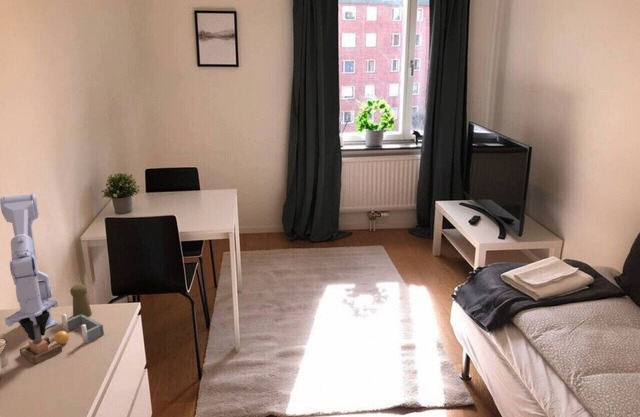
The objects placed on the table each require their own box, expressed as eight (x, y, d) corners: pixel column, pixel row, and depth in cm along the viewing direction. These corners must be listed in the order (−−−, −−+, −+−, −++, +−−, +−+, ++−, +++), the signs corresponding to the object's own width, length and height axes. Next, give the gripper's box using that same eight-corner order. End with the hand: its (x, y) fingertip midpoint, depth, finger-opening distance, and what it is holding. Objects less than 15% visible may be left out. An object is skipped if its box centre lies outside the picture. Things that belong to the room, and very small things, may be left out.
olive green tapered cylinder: (85, 320, 184) (80, 290, 180) (69, 318, 185) (64, 289, 181) (95, 311, 189) (91, 282, 186) (79, 309, 190) (75, 281, 187)
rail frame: (20, 355, 164) (19, 349, 164) (47, 342, 171) (46, 336, 170) (34, 364, 160) (33, 358, 159) (62, 351, 166) (61, 345, 166)
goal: (63, 331, 177) (60, 315, 175) (82, 322, 182) (79, 306, 180) (85, 344, 170) (82, 327, 168) (104, 334, 175) (102, 318, 173)
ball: (53, 343, 170) (51, 332, 169) (65, 338, 173) (63, 327, 172) (60, 348, 168) (58, 336, 166) (72, 342, 171) (70, 331, 170)
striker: (30, 352, 165) (25, 326, 162) (40, 347, 167) (35, 322, 164) (39, 358, 162) (34, 331, 159) (49, 353, 165) (44, 327, 162)
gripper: (10, 309, 151) (19, 352, 155) (60, 290, 162) (67, 330, 166) (-2, 302, 155) (6, 344, 159) (47, 283, 166) (54, 323, 170)
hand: (36, 336), depth 163 cm, fingers closed on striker, 2 cm apart
